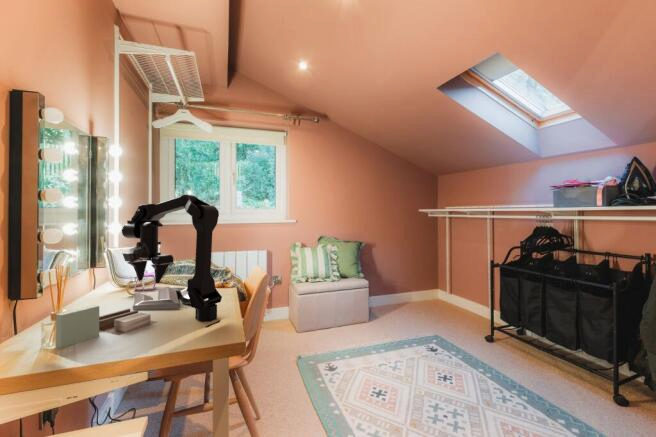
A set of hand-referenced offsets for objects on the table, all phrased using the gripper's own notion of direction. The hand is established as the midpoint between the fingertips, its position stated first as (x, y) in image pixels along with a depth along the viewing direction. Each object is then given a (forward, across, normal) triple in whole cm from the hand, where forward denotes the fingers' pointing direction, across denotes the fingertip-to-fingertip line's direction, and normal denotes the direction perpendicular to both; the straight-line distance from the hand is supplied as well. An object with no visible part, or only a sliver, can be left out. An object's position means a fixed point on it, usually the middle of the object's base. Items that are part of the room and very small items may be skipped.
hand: (148, 281), depth 109 cm
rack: (+12, +6, -13) cm, 19 cm away
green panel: (+12, +8, -26) cm, 30 cm away
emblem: (+13, -5, +12) cm, 18 cm away
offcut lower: (+10, +11, -13) cm, 20 cm away
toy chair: (+12, -38, +25) cm, 47 cm away
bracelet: (+12, -30, +15) cm, 36 cm away
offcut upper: (+9, +11, -13) cm, 19 cm away
